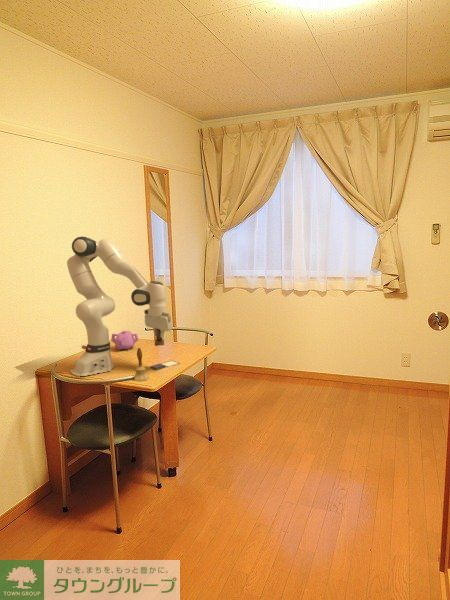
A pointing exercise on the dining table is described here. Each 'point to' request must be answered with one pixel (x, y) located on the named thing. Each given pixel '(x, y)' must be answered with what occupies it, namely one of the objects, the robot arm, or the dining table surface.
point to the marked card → (170, 363)
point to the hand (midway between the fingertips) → (159, 336)
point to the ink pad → (157, 367)
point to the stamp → (158, 338)
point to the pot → (124, 340)
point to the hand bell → (140, 369)
